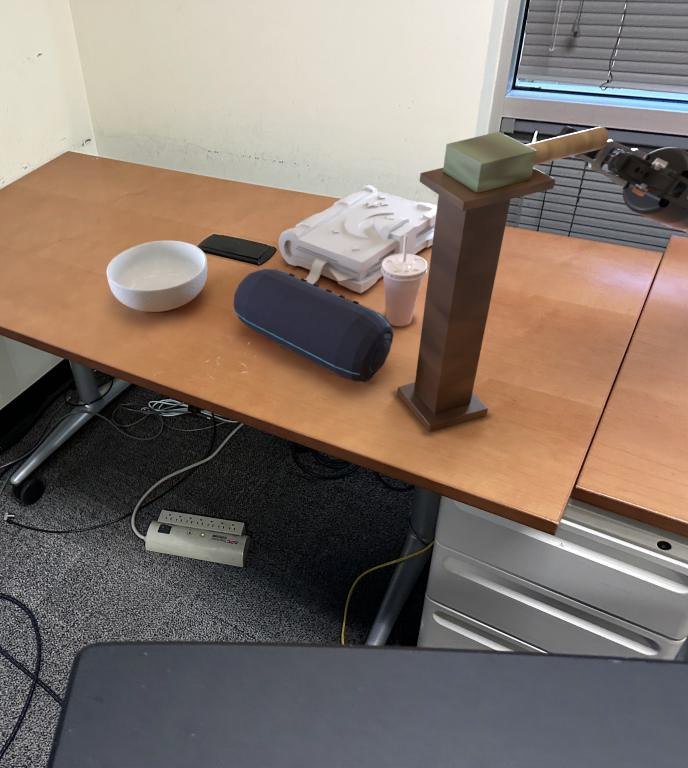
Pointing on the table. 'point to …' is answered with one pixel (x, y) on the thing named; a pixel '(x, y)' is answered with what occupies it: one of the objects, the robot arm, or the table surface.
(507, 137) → the green wooden mallet
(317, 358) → the portable speaker
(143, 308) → the cereal bowl
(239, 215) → the table surface
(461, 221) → the stand
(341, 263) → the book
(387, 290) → the smoothie
